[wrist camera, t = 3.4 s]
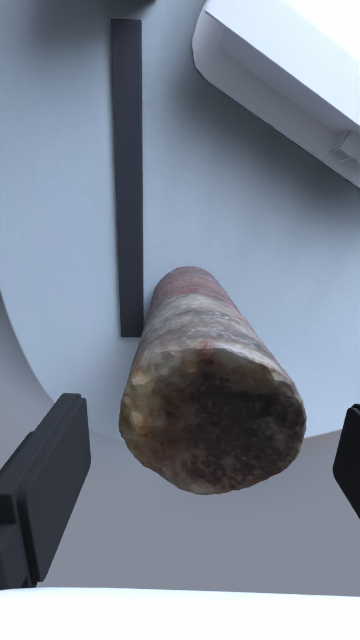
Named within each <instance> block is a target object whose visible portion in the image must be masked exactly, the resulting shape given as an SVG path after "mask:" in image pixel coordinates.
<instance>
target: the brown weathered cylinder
mask: <svg viewBox="0 0 360 640" xmlns="http://www.w3.org/2000/svg"><path fill="white" fill-rule="evenodd" d="M306 419H307V417H306V413H305V408H304V405H303V399H302V397H301V396H300V394H299V392H298V390H297V388H296V386H295V384H294V382H293V381H292V379H291V378H290V377H289V376H288V374H287V373H286V372H285V370H284V369H283V368H282V367H281V366H280V365H279V363H278V362H277V360H276V359H275V358H274V356H273V355H272V354H271V352H270V351H269V350H268V349H267V347H266V346H265V345H264V343H263V342H262V341H261V340H260V338H259V337H258V336H257V334H256V333H255V332H254V330H253V329H252V327H251V326H250V324H249V323H248V322H247V320H246V319H245V318H244V317H243V316H242V314H241V313H240V312H239V310H238V309H237V307H236V306H235V304H234V303H233V302H232V300H231V299H230V298H229V296H228V295H227V293H226V292H225V291H224V289H223V288H222V287H221V285H220V284H219V283H218V282H217V280H216V279H215V278H214V277H213V276H212V275H211V274H210V273H208V272H207V271H205V270H203V269H200V268H197V267H181V268H177V269H175V270H173V271H171V272H170V273H168V274H167V275H166V276H165V277H164V278H163V279H162V280H161V281H160V282H159V283H158V285H157V286H156V289H155V291H154V294H153V297H152V301H151V305H150V308H149V312H148V315H147V319H146V322H145V326H144V328H143V332H142V335H141V338H140V342H139V345H138V348H137V351H136V354H135V357H134V360H133V363H132V367H131V371H130V374H129V378H128V381H127V385H126V388H125V391H124V394H123V397H122V400H121V407H120V414H119V431H120V433H121V437H122V438H123V439H124V440H125V442H126V445H127V447H128V449H129V450H130V452H131V453H132V454H133V455H134V457H135V458H136V459H138V460H139V461H140V462H141V464H142V465H143V466H144V467H147V468H150V469H151V470H153V471H155V472H157V473H158V474H159V475H160V476H162V477H163V478H164V479H166V480H167V481H168V482H170V483H172V484H174V485H175V486H177V488H179V489H181V490H185V491H188V492H192V493H194V494H200V495H210V494H221V493H226V492H229V491H232V490H240V489H243V488H247V487H250V486H252V485H254V484H256V483H258V482H261V481H263V480H266V479H268V478H269V477H271V476H273V475H276V474H278V473H280V472H282V471H283V470H284V469H286V468H287V467H288V466H289V465H290V464H291V462H293V461H294V460H295V459H296V457H297V455H298V454H299V452H300V448H301V444H302V441H303V438H304V434H305V431H306Z"/></svg>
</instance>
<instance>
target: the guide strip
mask: <svg viewBox="0 0 360 640" xmlns="http://www.w3.org/2000/svg"><path fill="white" fill-rule="evenodd" d="M111 37H112V68H113V100H114V131H115V163H116V194H117V226H118V258H119V289H120V321H121V337H141V335H142V332H143V183H142V22H141V20H131V19H111Z"/></svg>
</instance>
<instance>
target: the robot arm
mask: <svg viewBox="0 0 360 640" xmlns="http://www.w3.org/2000/svg"><path fill="white" fill-rule="evenodd" d="M90 463H91V455H90V442H89V429H88V416H87V403H86V399H85V398H82V397H81V395H80V394H73V393H63V394H62V395H61V396H60V398H59V399H58V400H57V402H56V403H55V404H54V406H53V407H52V408H51V410H50V411H49V412H48V413H47V415H46V416H45V417H44V419H43V420H42V421H41V423H40V424H39V425H38V427H37V428H36V429H35V431H32V432H30V433H29V434H28V435H27V436H26V437H25V439H24V440H23V441H22V443H21V444H20V445H19V446H18V448H17V449H16V450H15V452H14V453H13V454H12V456H11V457H10V458H9V459H8V461H7V462H6V463H5V464H4V466H3V467H2V468H1V470H0V640H360V597H346V596H345V597H344V596H321V595H295V594H271V593H243V592H216V591H186V590H152V589H123V588H122V589H121V588H48V587H43V588H35V587H36V585H37V582H42V581H44V579H45V577H46V575H47V573H48V570H49V568H50V566H51V563H52V560H53V558H54V556H55V553H56V551H57V548H58V546H59V543H60V541H61V538H62V536H63V533H64V530H65V528H66V525H67V523H68V520H69V518H70V516H71V513H72V511H73V508H74V506H75V503H76V501H77V498H78V496H79V493H80V491H81V488H82V486H83V483H84V481H85V478H86V476H87V473H88V471H89V468H90ZM333 475H334V478H335V480H336V481H337V483H338V484H339V486H340V488H341V489H342V491H343V493H344V494H345V496H346V497H347V499H348V500H349V502H350V504H351V505H352V507H353V509H354V510H355V512H356V513H357V515H358V517H359V518H360V404H354V405H353V406H352V407H351V408H349V409H348V410H347V413H346V417H345V421H344V425H343V429H342V433H341V437H340V441H339V445H338V449H337V453H336V457H335V461H334V465H333Z"/></svg>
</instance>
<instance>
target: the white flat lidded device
mask: <svg viewBox="0 0 360 640" xmlns="http://www.w3.org/2000/svg"><path fill="white" fill-rule="evenodd" d="M192 50H193V56H194V63H195V66H196V67H197V69H198V70H199V71H200V73H201V74H202V75H203V77H204V78H205V79H206V80H207V81H208V82H210V83H211V84H213V85H214V86H215V87H217V88H218V89H220V90H221V91H222V92H224V93H225V94H227V95H228V96H230V97H231V98H232V99H234V100H235V101H237V102H238V103H239V104H241V105H242V106H244V107H245V108H247V109H248V110H249V111H251V112H252V113H254V114H255V115H256V116H258V117H259V118H261V119H262V120H264V121H265V122H266V123H268V124H269V125H271V126H272V127H274V128H275V129H276V130H278V131H279V132H281V133H282V134H283V135H285V136H286V137H288V138H289V139H291V140H292V141H293V142H295V143H296V144H298V145H299V146H300V147H302V148H303V149H305V150H306V151H308V152H309V153H310V154H312V155H313V156H315V157H316V158H317V159H319V160H320V161H322V162H323V163H325V164H326V165H327V166H329V167H330V168H332V169H333V170H334V171H336V172H337V173H339V174H340V175H342V176H343V177H344V178H346V179H347V180H349V181H350V182H351V183H353V184H354V185H356V186H357V187H359V188H360V0H206V2H205V4H204V6H203V8H202V11H201V13H200V15H199V17H198V19H197V23H196V27H195V31H194V35H193V39H192Z"/></svg>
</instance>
